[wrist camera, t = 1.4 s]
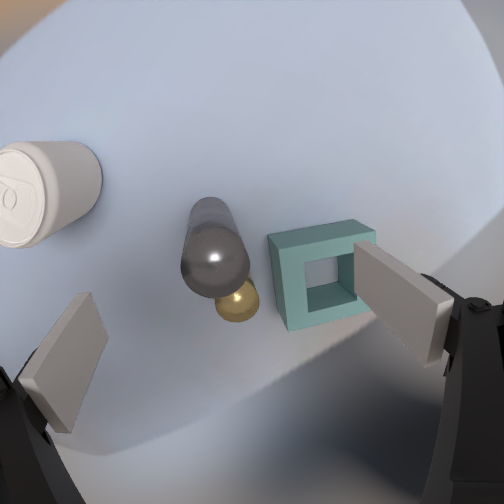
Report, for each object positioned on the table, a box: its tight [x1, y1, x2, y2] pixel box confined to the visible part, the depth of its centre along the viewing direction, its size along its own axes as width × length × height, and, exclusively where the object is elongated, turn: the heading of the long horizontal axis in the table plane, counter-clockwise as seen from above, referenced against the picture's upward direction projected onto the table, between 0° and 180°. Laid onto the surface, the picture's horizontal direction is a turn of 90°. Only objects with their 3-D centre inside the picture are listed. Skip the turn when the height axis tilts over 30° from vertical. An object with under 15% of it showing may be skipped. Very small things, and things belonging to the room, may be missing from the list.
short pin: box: [215, 272, 259, 322], centre depth 30 cm, size 4×4×6 cm
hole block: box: [268, 219, 376, 332], centre depth 32 cm, size 10×9×5 cm
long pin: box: [181, 197, 250, 298], centre depth 24 cm, size 4×4×14 cm
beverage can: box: [0, 141, 102, 248], centre depth 21 cm, size 8×8×12 cm
